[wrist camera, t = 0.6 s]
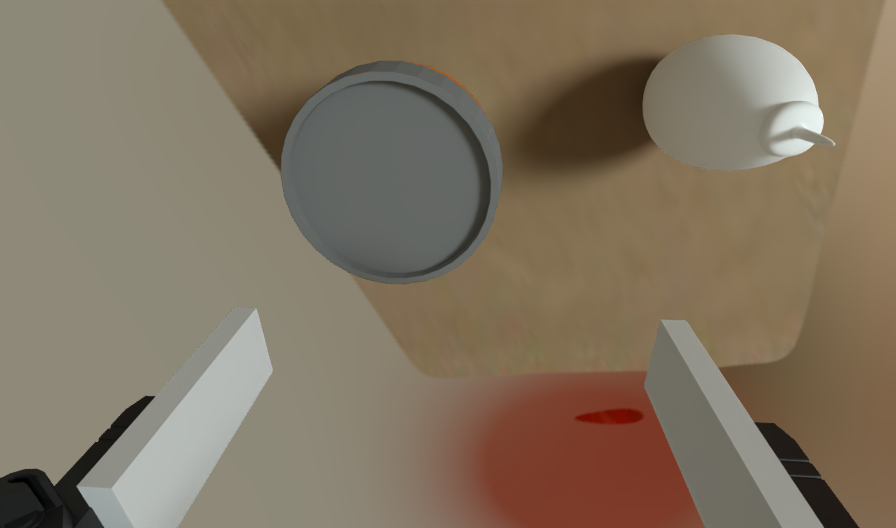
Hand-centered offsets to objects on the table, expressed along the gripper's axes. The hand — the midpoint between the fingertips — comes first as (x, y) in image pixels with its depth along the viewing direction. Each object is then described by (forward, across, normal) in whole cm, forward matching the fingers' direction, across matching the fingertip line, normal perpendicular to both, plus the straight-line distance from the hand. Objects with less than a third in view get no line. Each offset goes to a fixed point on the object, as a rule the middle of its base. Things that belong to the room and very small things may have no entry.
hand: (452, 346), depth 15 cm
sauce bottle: (+27, +16, +5) cm, 31 cm away
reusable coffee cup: (+27, -4, +1) cm, 27 cm away
